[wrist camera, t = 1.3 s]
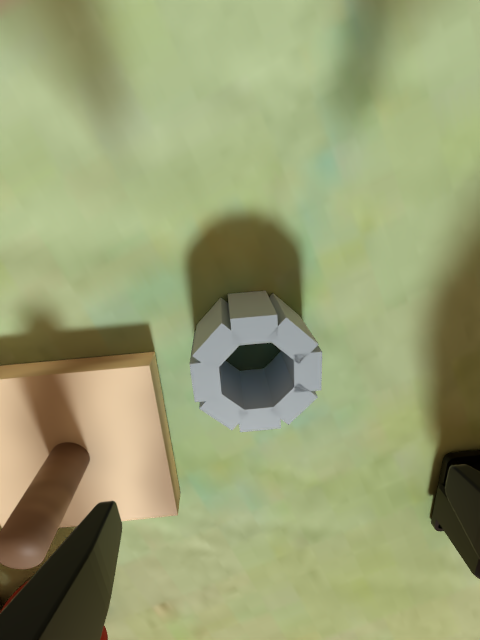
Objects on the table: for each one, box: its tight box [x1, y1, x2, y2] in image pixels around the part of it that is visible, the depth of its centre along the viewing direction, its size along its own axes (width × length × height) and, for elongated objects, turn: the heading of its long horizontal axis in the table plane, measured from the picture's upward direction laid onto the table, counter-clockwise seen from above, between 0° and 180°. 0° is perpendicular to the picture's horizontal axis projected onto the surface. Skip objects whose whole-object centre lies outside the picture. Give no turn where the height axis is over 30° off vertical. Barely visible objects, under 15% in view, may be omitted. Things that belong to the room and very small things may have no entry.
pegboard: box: [0, 352, 180, 569], centre depth 16 cm, size 10×10×6 cm
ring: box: [190, 291, 322, 432], centre depth 16 cm, size 6×6×4 cm
